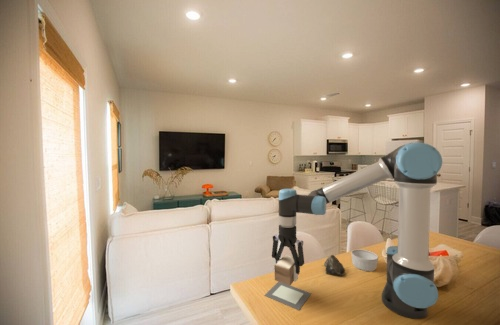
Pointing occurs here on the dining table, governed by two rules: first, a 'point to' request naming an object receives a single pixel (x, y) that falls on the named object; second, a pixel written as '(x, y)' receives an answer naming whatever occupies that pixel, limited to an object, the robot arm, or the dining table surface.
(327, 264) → the dark grey rock
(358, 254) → the ramekin
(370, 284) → the dining table surface
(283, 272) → the card box
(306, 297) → the mat
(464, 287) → the dining table surface
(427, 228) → the robot arm
